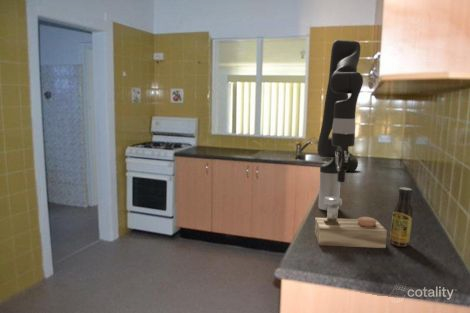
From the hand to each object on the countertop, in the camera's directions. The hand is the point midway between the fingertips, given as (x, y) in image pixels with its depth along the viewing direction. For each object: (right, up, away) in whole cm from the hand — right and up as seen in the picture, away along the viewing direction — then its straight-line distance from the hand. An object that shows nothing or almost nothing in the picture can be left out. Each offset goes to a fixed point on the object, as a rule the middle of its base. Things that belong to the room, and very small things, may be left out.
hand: (340, 181), depth 129 cm
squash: (+46, -2, +145) cm, 153 cm away
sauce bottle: (+20, -22, 0) cm, 30 cm away
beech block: (+3, -21, +3) cm, 21 cm away
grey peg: (-2, -14, +2) cm, 14 cm away
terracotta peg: (+9, -21, +2) cm, 23 cm away
